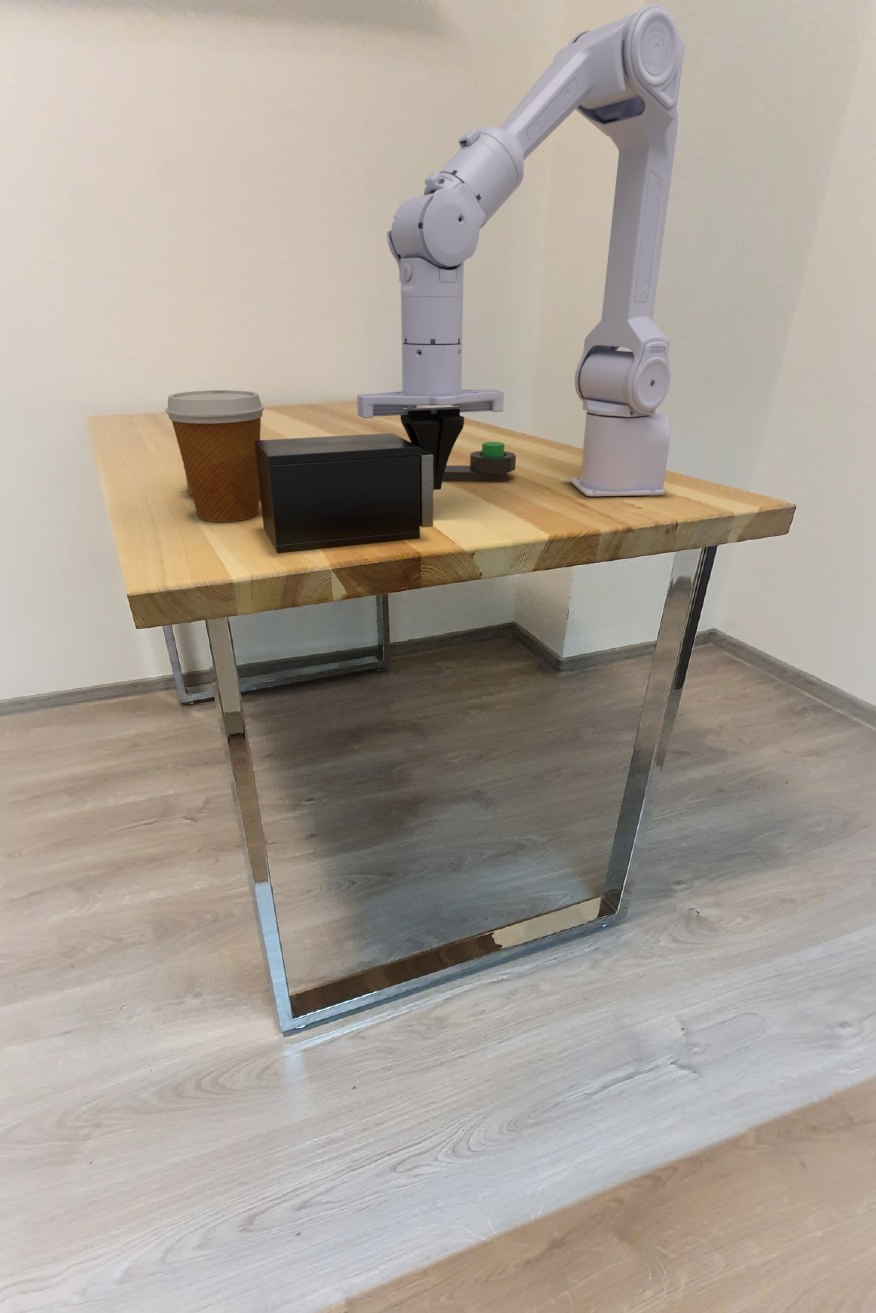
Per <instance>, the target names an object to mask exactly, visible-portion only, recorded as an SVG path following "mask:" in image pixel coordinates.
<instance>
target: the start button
mask: <svg viewBox="0 0 876 1313" xmlns="http://www.w3.org/2000/svg"><path fill="white" fill-rule="evenodd" d="M481 451H482V456H486V457H502V456H504V451H505V443H503V442H499V441H486V442H483V443H482V444H481Z"/></svg>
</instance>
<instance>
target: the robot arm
mask: <svg viewBox="0 0 876 1313" xmlns="http://www.w3.org/2000/svg"><path fill="white" fill-rule="evenodd" d="M685 46H686V43H685V41H684V40H683V37H682V35H681V34H680V31H679V29H678V27H677V25H676V22H675V20H674V19H673V17H672V15H671V14H670V13H669V11H668V10H667V9H666V8H665V7H664V6H662V5H660V4H657V3H652V4H651V3H650V4H647V5H646V6H643V7H641V8H639V9H638V11H636V12H633V13H632V14H629V15H626V16H624V17H622V18H621V17H620V18H619V19H617V20H613V21H612V22H609V23H606V24H604V25H602V26H599V27H597V28H594V29H592V30H584V31H581V32H579V33H577V34H576V35H575V36H574V37H573V38H572V39H571V40H570V41H569V43H568V45H566V46H564V47H563V48H561V49H560V50H558V51H557V52H556V53H555V55H554V57H553V58H554V59H553V60H552V62H551V63H550V65H549V66H548V67H547V68H546V69H545V71H544V72H543V73H542V75H541V76H540V77H539V78H538V79H537V81H536V82H535V83H534V84H533V85H532V87H530V89H529V90H528V92H527V93H526V94H525V96H524V97H523V98H522V99H521V100H520V101H519V103H518V104H517V105H516V106H515V107H514V108H513V110H512V112H510V113H509V115H508V116H507V118H506V119H504V121H503V122H502V123H501V125H500V126H499V128H498V127H494V126H487V125H485V126H482V127H480V128H479V129H477V128H472V129H469V130H466V131H465V132H464V133H463V134H462V135H461V136H460V137H459V139H458V141H457V142H458V144H459V146H460V149H458V151H457V152H456V153H454V154H455V155H453V156H452V157H451V159H450V160H448V162H447V163H446V164H445V165H444V166H443V167H442V169H440V170H439V172H438V171H435V172H431V173H429V175H428V176H427V177H426V178H425V179H424V185H425V188H424V191H423V195H418V196H414V197H410V198H407V199H405V200H404V201H403V202H402V203H401V204H400V205H399V206H398V207H397V209H396V211H395V213H394V215H393V219H394V220H393V222H392V223H391V229H390V230H388V231H386V239H387V240H386V241H387V244H388V247H389V251H390V253H391V255H392V257H393V259H394V260H395V261H396V263H397V266H398V271H399V272H398V275H399V276H398V278H399V283H400V320H401V321H400V322H401V324H400V325H401V326H400V327H401V328H400V329H401V378H402V379H401V384H402V386H401V388H402V390H399V391H388V392H378V393H377V392H375V393H361V394H360V393H359V394H356V407H357V408H356V410H357V416H358V417H360V418H362V419H371V418H374V417H387V416H388V417H389V416H391V417H392V416H400V417H399V418H400V422H401V425H402V427H403V428H404V431H405V433H406V435H407V437H408V439H409V442H411V443H413V444H415V445H416V446H418V447H419V448H421V449H423V450H425V451H427V452H429V453H430V454H432V455H433V476H434V478H435V489H434V491H438V490H441V489H442V486H443V481H442V480H443V476H444V472H445V468H446V466H448V461H449V459H450V455H451V454H452V451H453V448H454V446H455V444H456V443H457V442H456V441H457V440H458V438H459V436H460V434H461V433H462V431H463V429H464V426H465V416H462V415H461V413H479V412H492V413H502V412H504V399H505V398H504V397H505V392H504V391H503V390H498V389H462V382H463V380H462V378H463V375H462V374H463V373H462V371H463V323H464V322H463V316H464V313H463V312H464V263H465V262H466V260H467V259H470V258H472V257H473V256H474V253H475V252H476V249H477V247H478V243H479V237H480V230H481V229H482V228H483V227H484V226H485V225H486V224H487V223H488V222H489V220H490V219H491V218H492V217H493V216H494V215H495V214H496V213H497V212H498V211H499V209H500V208H501V207H502V206H503V205H504V204H505V203H506V202H507V200H509V198H510V197H511V196H512V195H513V194H514V192H515V191H516V190H518V188H519V187H520V186H521V185H522V182H523V179H524V173H525V169H524V167H525V165H524V161H525V160H526V159H527V158H528V157H529V156H530V155H531V154H532V153H533V152H534V151H535V150H537V148H538V147H539V146H540V145H541V144H542V143H543V142H544V141H546V139H547V138H548V137H549V136H550V135H551V134H552V133H553V132H554V131H555V130H556V129H558V128H559V126H560V125H561V124H562V123H563V122H564V121H565V120H566V119H567V118H568V117H569V116H570V115H571V114H572V113H573V112H574V111H575V110H576V111H577V112H578V113H579V115H581V116H583V117H584V118H585V119H586V120H587V121H588V122H590V123H591V124H592V125H593V126H594V127H596V128H597V129H598V130H599V131H600V132H601V133H602V134H604V135H605V136H606V137H609V138H610V139H611V141H612V142H613V144H614V145H615V147H616V148H617V150H618V157H617V158H618V159H617V169H616V179H615V186H614V187H615V188H614V196H613V205H612V206H613V207H612V215H611V226H610V236H609V243H608V244H609V245H608V254H607V263H606V273H605V283H604V290H603V291H604V292H603V301H602V310H601V311H602V312H601V320H599V322H598V323H597V325H595V326H594V327H593V328H592V330H591V331H590V332H589V333H588V334H587V335H586V336H585V338H584V342H583V350H582V355H581V358H580V359H579V362H578V364H577V366H576V370H575V373H574V388H575V391H576V395H577V398H579V400H580V401H582V411H586V413H585V414H586V415H585V423H584V424H585V425H584V435H583V446H582V455H581V456H582V457H581V468H580V477H571V478H570V479H569V483H571V485H573V486H574V487H575V488H577V489H578V490H579V491H580V492H581V493H582V494H584V496H586V497H625V496H628V497H631V496H665V495H666V490H664V484H665V477H666V471H667V464H668V456H669V450H670V441H671V428H670V427H671V426H670V421H669V419H668V417H667V416H666V415H665V414H664V413H659V412H656V410H657V409H658V408H659V407H660V406H661V405H662V403H663V402H664V400H665V399H666V397H667V395H668V392H669V389H670V384H671V368H670V364H669V363H670V362H669V351H670V345H671V344H670V343H671V342H670V340H669V339H668V337H667V336H666V335H665V334H664V333H663V331H661V329H660V328H659V327H658V326H657V325H656V324H655V322H654V321H653V317H654V311H655V302H656V294H657V287H658V281H659V271H660V264H661V259H662V258H661V257H662V250H663V241H664V233H665V226H666V219H667V211H668V204H669V197H670V189H671V180H672V174H673V165H674V159H675V151H676V144H677V143H676V142H677V138H678V137H677V136H678V123H679V121H678V101H679V93H680V85H681V78H682V71H683V70H682V69H683V64H684V54H685V48H686V47H685ZM619 348H627V349H629V350H630V351H627V350H618V349H619ZM417 406H436V407H417ZM439 406H440V407H439Z"/></svg>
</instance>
